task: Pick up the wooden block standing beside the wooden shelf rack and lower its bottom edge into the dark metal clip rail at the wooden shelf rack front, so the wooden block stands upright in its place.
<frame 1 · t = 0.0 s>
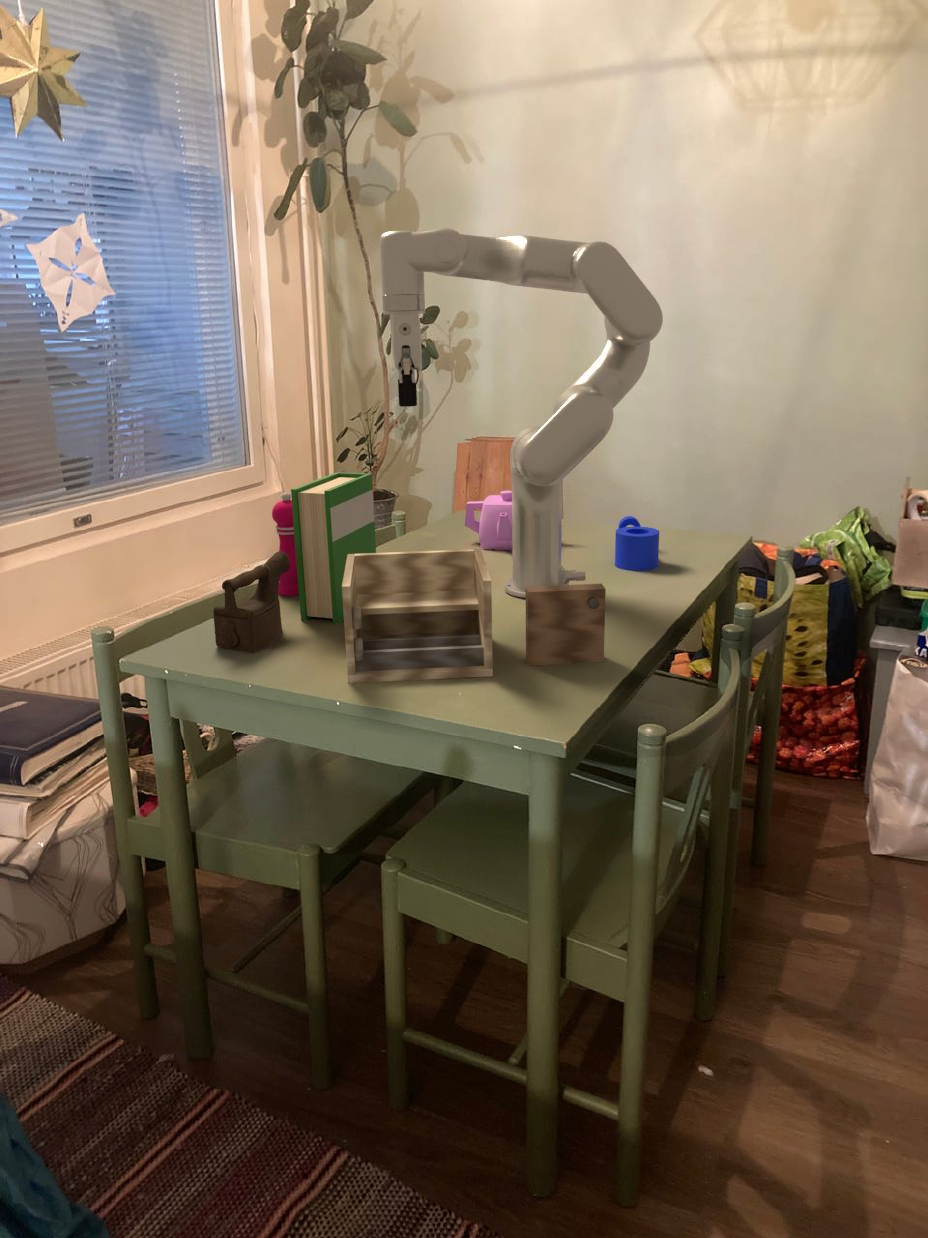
hand: (407, 403, 179), 37 cm above the table, tool pointing down, fingers open, 9 cm apart
pepper mill: (293, 592, 195), on the table
wooden block: (564, 660, 155), on the table
hardback book: (341, 608, 185), on the table
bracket: (632, 560, 214), on the table
teakettle: (509, 544, 229), on the table
clothes iron: (260, 639, 169), on the table
wooden shelf rack: (419, 657, 158), on the table
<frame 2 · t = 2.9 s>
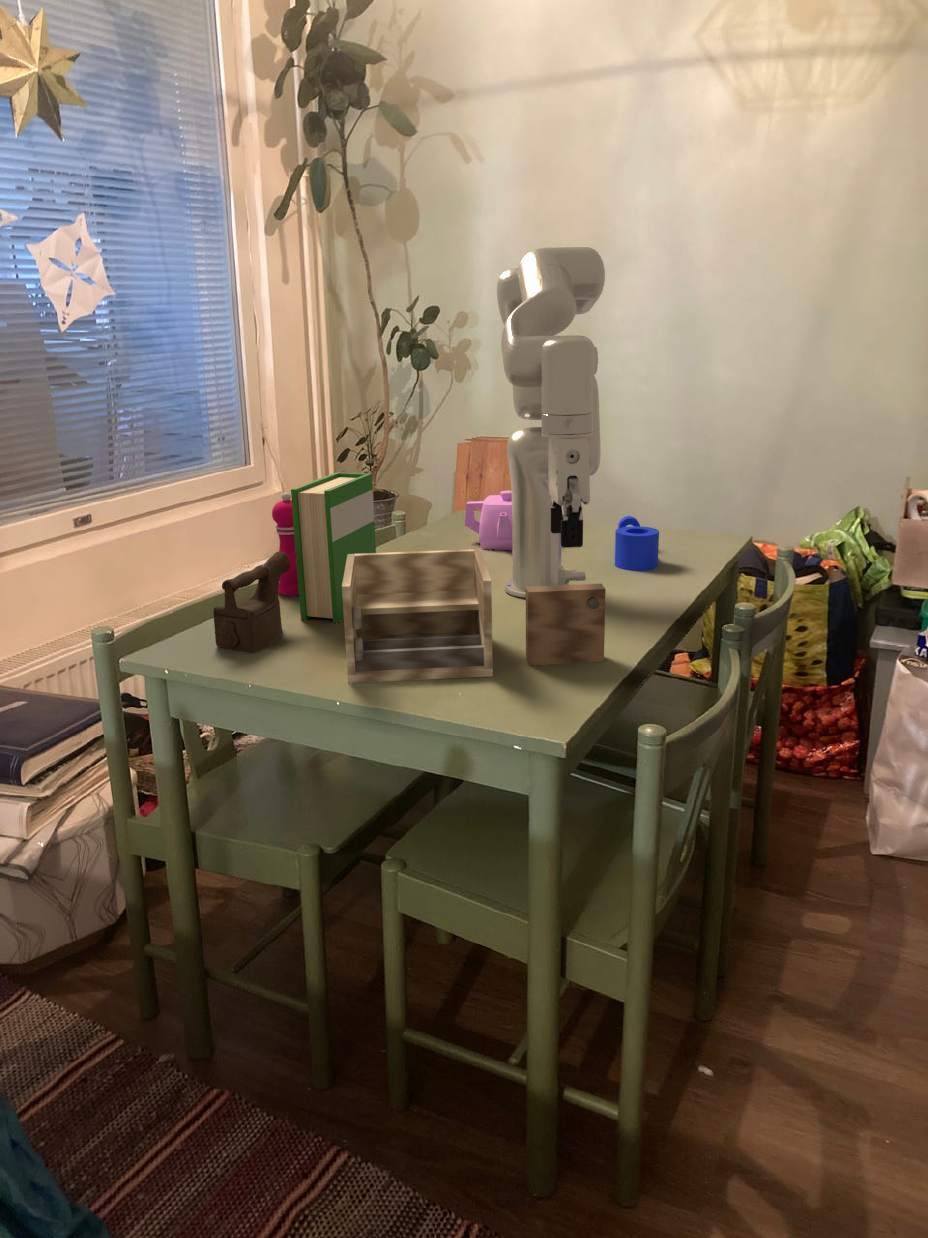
hand: (566, 539, 149), 20 cm above the table, tool pointing down, fingers open, 9 cm apart
nothing on the table moved.
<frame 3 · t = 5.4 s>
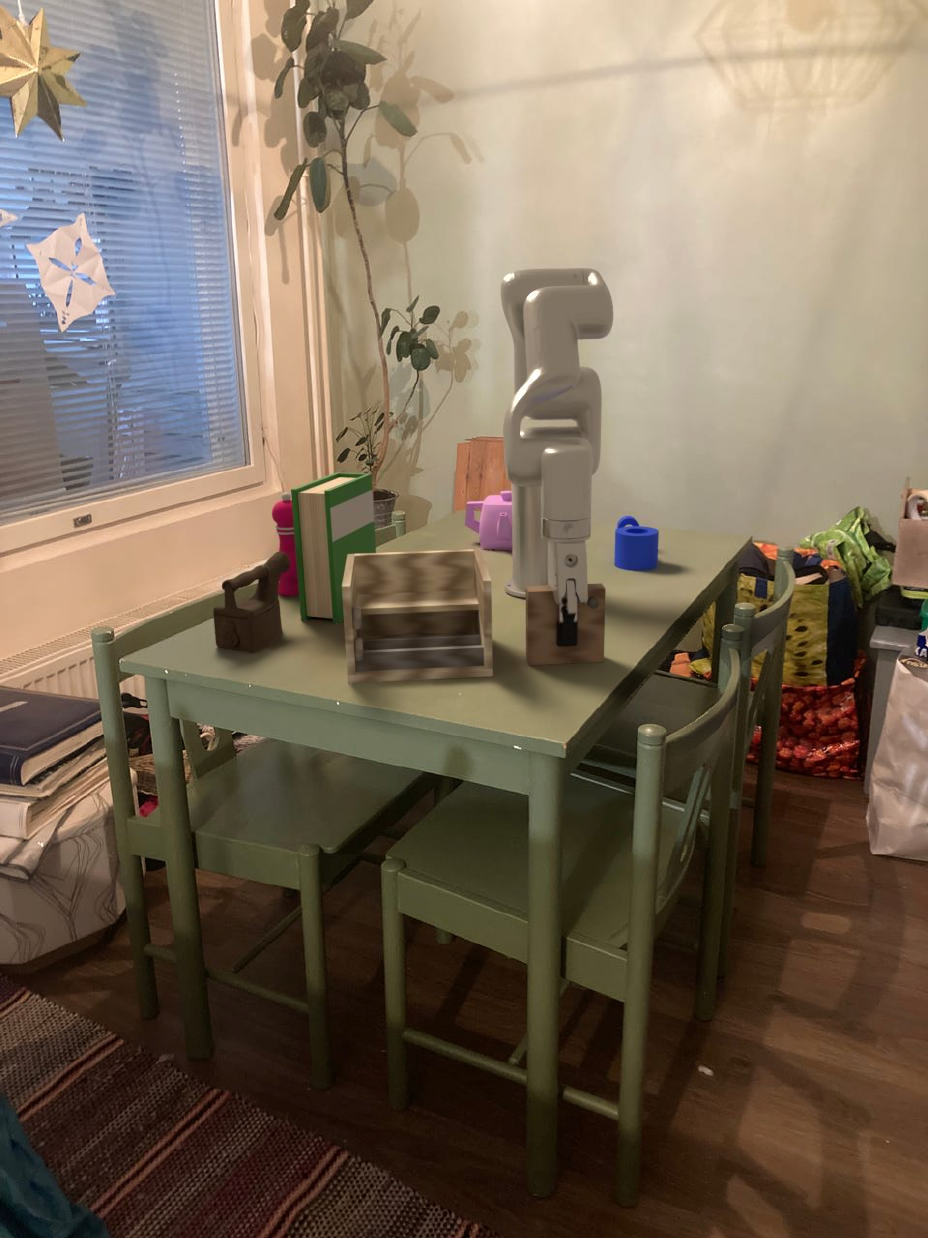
hand: (564, 640, 154), 3 cm above the table, tool pointing down, fingers closed on wooden block, 3 cm apart
wooden block: (564, 660, 155), on the table, touching gripper
everything else where it was.
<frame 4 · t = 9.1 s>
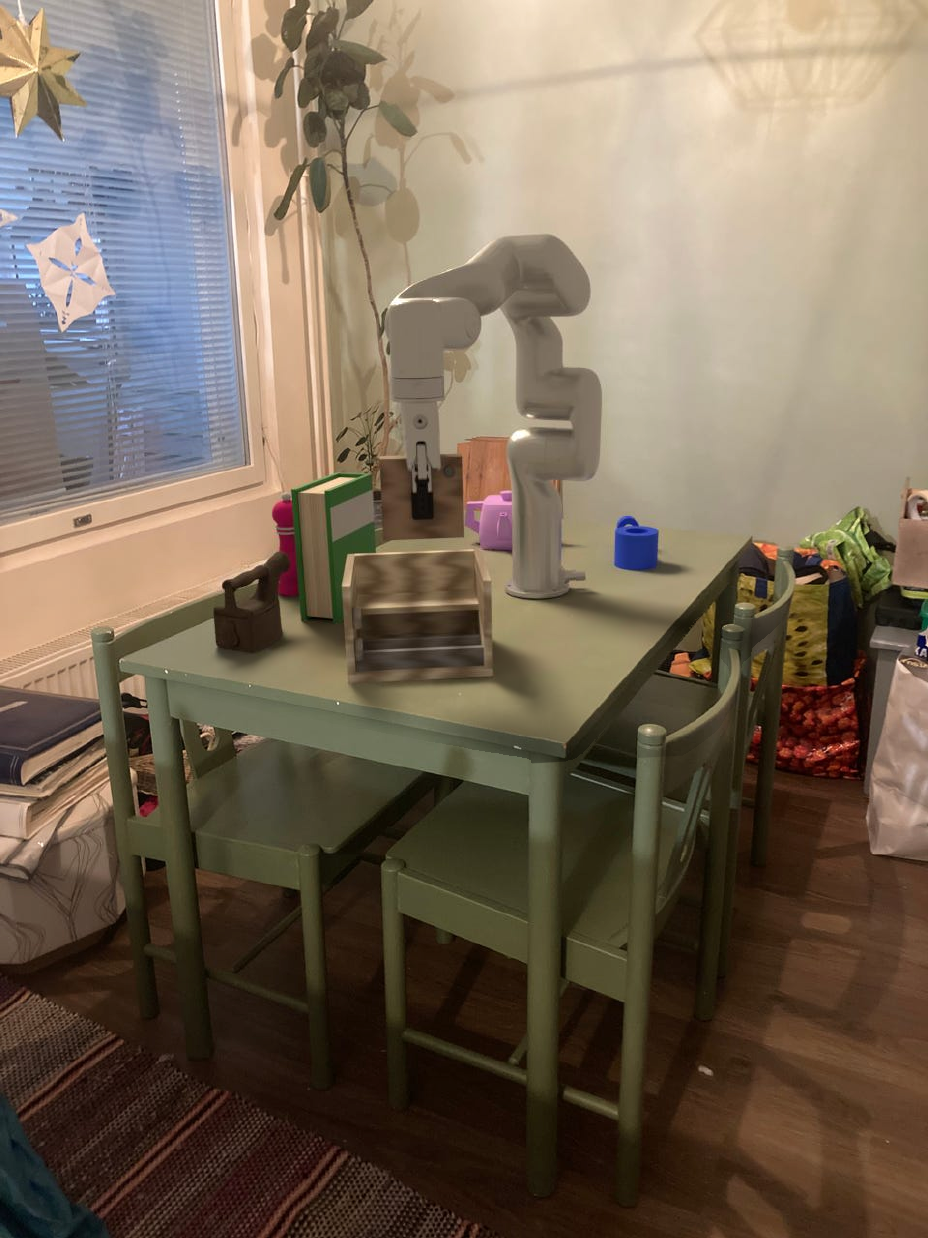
hand: (422, 515, 146), 24 cm above the table, tool pointing down, fingers closed on wooden block, 3 cm apart
wooden block: (423, 536, 147), point 21 cm above the table, touching gripper
everything else where it was.
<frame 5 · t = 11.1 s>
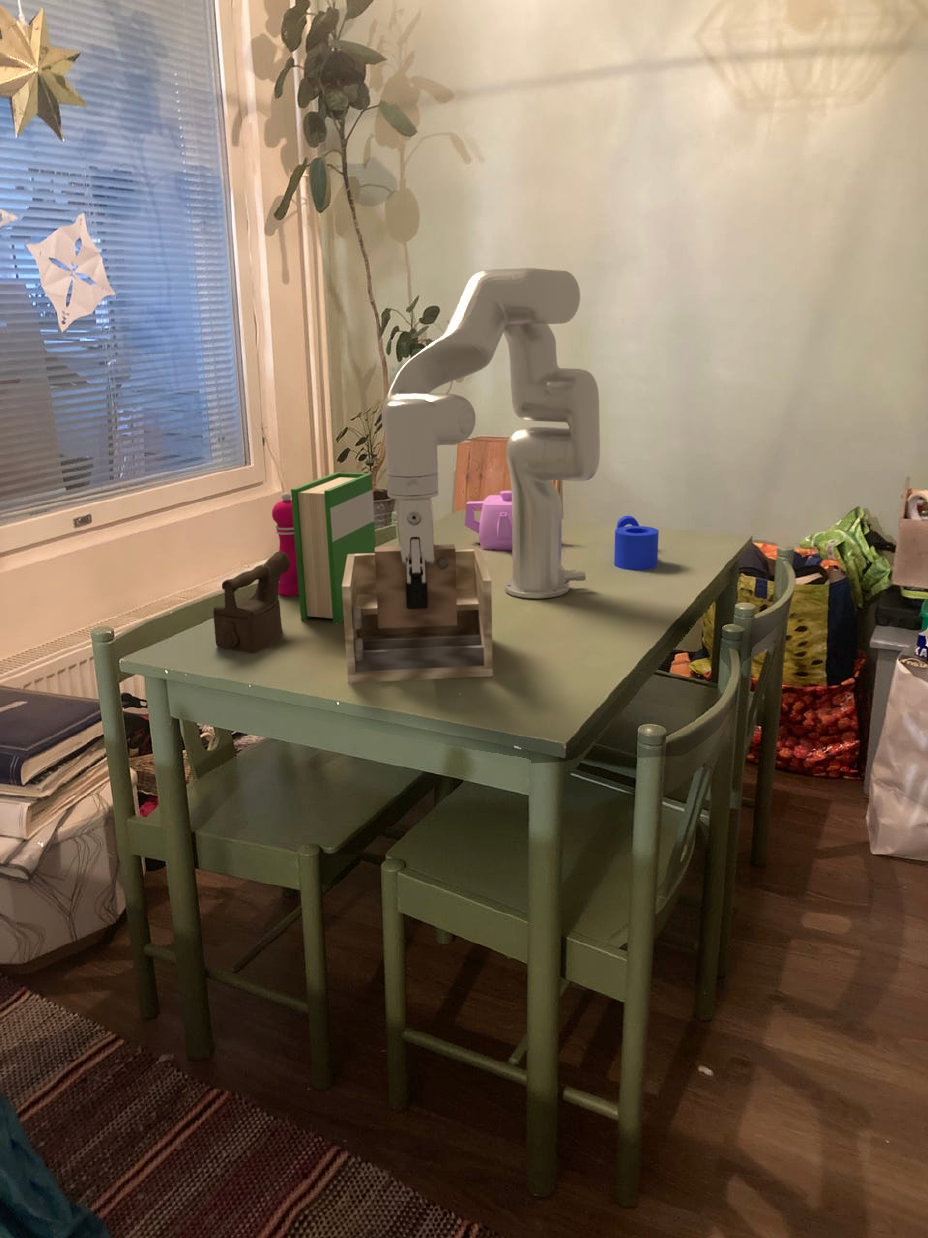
hand: (416, 603, 150), 11 cm above the table, tool pointing down, fingers closed on wooden block, 3 cm apart
wooden block: (417, 623, 151), point 7 cm above the table, touching gripper
everything else where it was.
when the fingers open (6 cm above the table, at t = 12.6 s): wooden block drops 1 cm, resting on wooden shelf rack.
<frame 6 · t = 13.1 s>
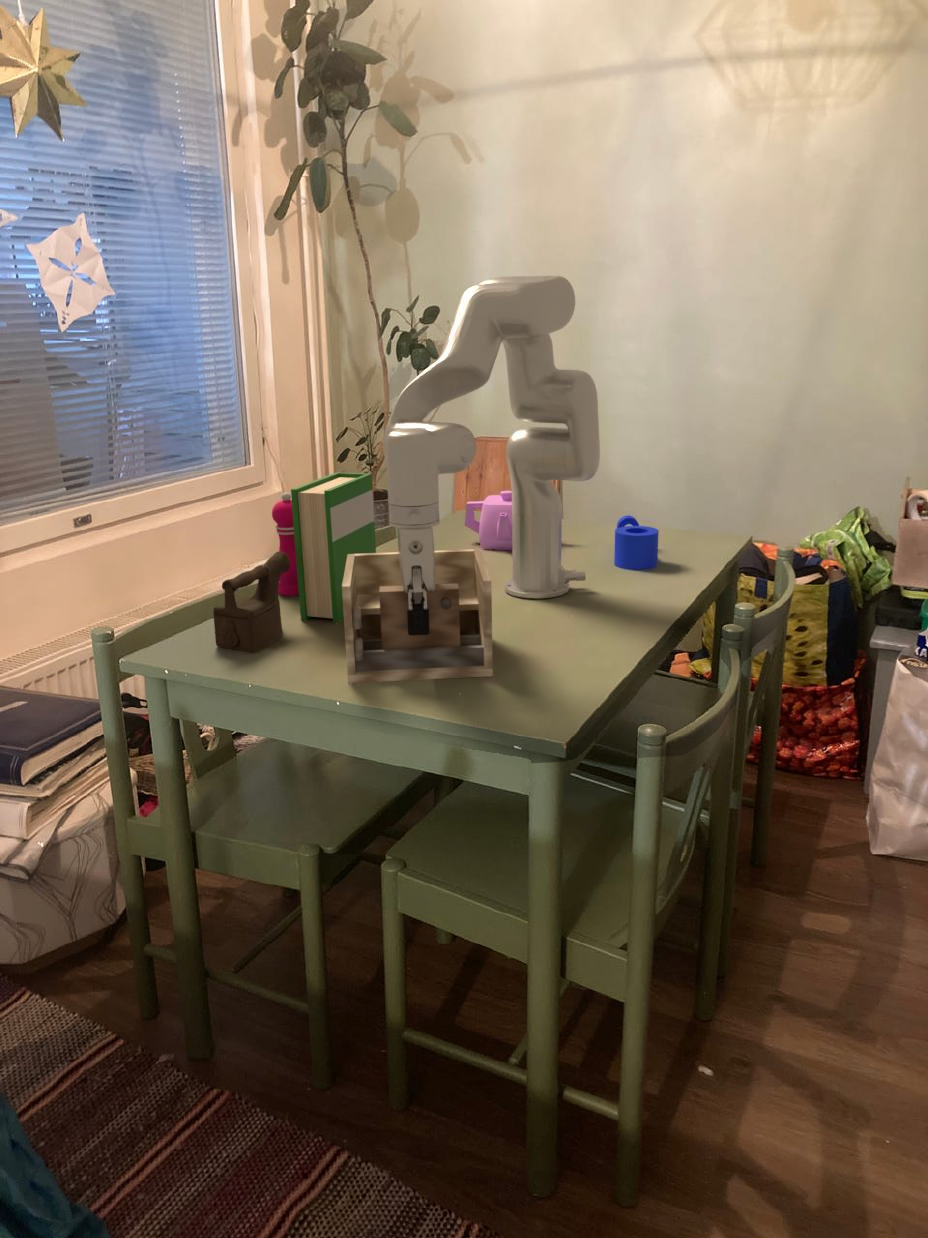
hand: (418, 624, 151), 7 cm above the table, tool pointing down, fingers open, 8 cm apart
wooden block: (421, 661, 153), point 1 cm above the table, touching wooden shelf rack
everything else where it was.
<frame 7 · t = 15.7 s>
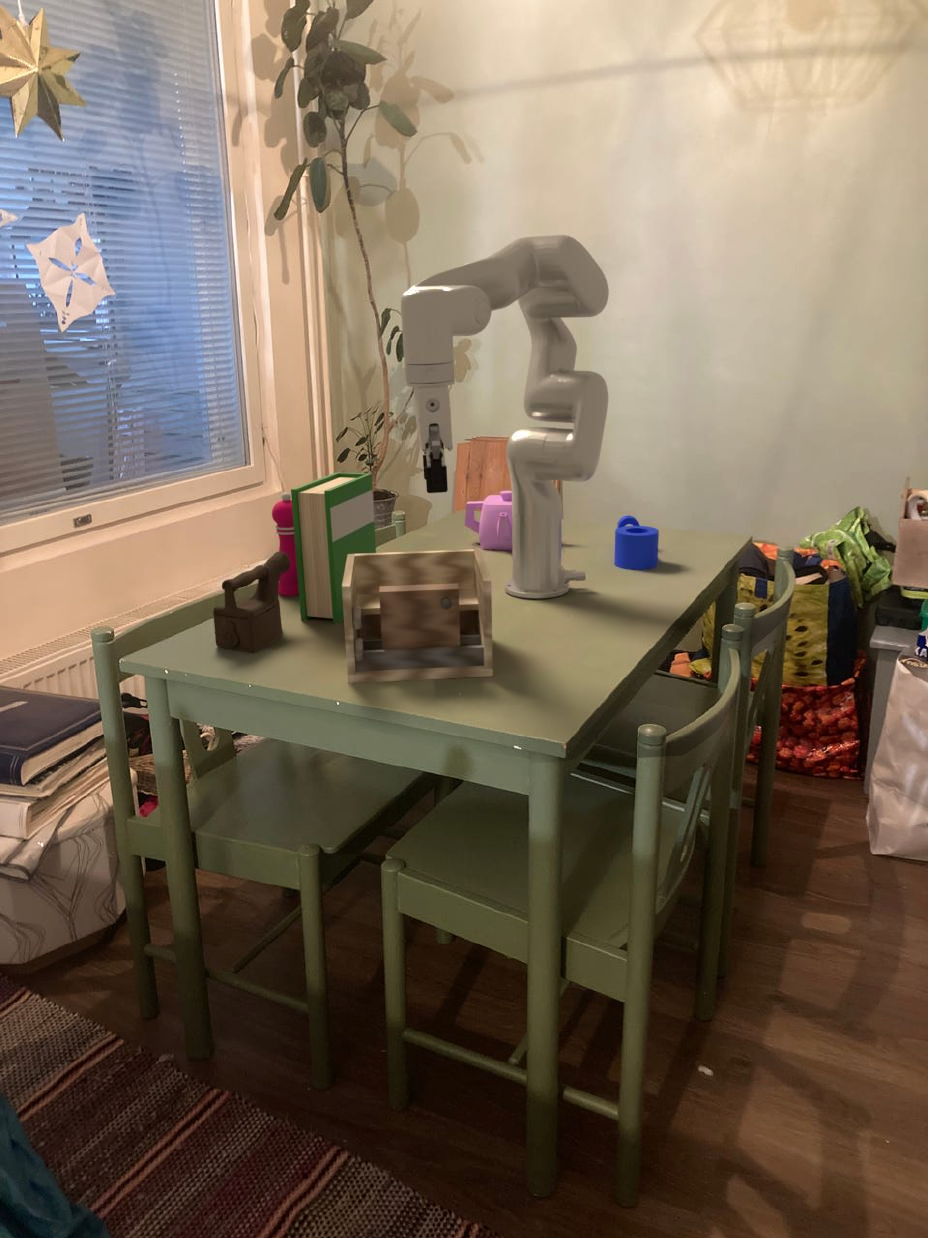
hand: (435, 485, 155), 27 cm above the table, tool pointing down, fingers open, 9 cm apart
nothing on the table moved.
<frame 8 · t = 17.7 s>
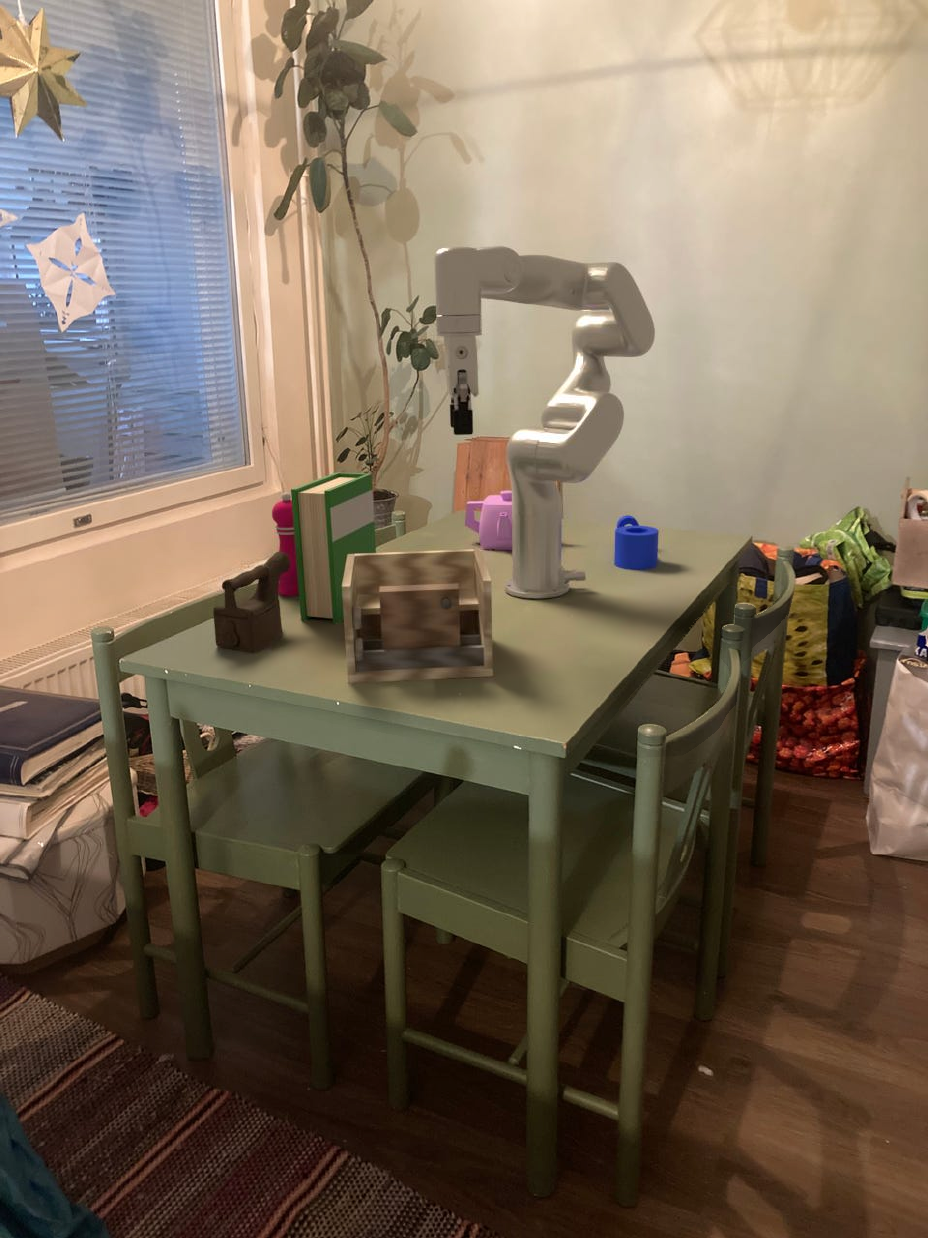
hand: (461, 430, 168), 33 cm above the table, tool pointing down, fingers open, 9 cm apart
nothing on the table moved.
at the end: wooden block 0.3 cm from the target spot on the wooden shelf rack, point 1.2 cm above the wooden shelf rack's base; wooden block tilted 0°; the gripper is holding nothing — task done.
